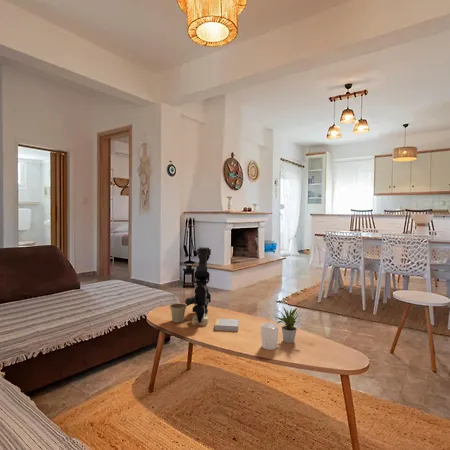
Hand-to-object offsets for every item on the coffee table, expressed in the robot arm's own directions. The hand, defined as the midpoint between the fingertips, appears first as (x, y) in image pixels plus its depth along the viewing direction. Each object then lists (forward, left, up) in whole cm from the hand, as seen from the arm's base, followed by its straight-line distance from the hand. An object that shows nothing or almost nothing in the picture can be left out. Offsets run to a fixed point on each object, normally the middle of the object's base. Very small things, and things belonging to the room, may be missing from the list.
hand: (200, 320), depth 178 cm
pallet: (0, 0, -2) cm, 2 cm away
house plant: (+17, +46, -2) cm, 49 cm away
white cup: (+27, +36, -2) cm, 45 cm away
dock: (+3, +15, -2) cm, 15 cm away
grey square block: (0, 0, +2) cm, 2 cm away
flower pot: (-2, -13, -2) cm, 13 cm away
